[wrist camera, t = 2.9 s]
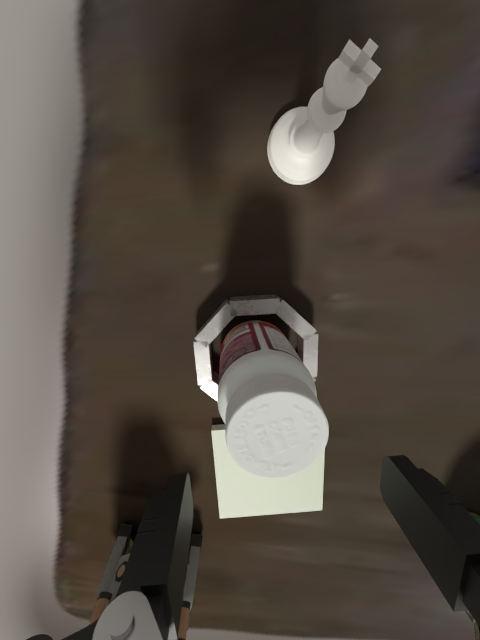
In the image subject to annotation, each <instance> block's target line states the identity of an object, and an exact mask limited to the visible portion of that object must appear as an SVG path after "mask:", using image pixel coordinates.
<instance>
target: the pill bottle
mask: <svg viewBox="0 0 480 640" xmlns="http://www.w3.org/2000/svg"><path fill="white" fill-rule="evenodd" d="M217 397H218V408H219V412H220V415H221V417H222V420H223V421H224V423H225V425H226V431H225V437H226V444H227V448H228V451H229V453H230V455H231V457H232V458H233V460H234V461H235V462H236V463H237V464H238V465H239V466H240V467H241V468H242V469H244V470H245V471H247V472H249V473H251V474H253V475H256V476H259V477H263V478H284V477H289V476H292V475H295V474H298V473H300V472H302V471H304V470H305V469H307V468H308V467H310V466H311V465H312V464H313V463H314V462H315V461H316V460H317V459H318V458H319V457H320V456H321V454H322V453H323V451H324V449H325V447H326V444H327V441H328V435H329V425H328V421H327V418H326V415H325V413H324V411H323V409H322V407H321V406H320V404H319V401H318V399H317V393H316V387H315V383H314V381H313V378H312V376H311V374H310V372H309V371H308V369H307V368H306V366H305V365H304V363H303V362H302V360H301V359H300V357H299V356H298V354H297V353H296V352H295V350H294V349H293V347H292V346H291V344H290V343H289V341H288V340H287V338H286V337H285V335H284V334H283V333H282V332H281V330H280V329H278V328H277V327H276V326H274V325H273V324H271V323H268V322H265V321H260V320H252V321H246V322H243V323H241V324H239V325H237V326H235V327H234V328H233V329H232V330H231V331H230V332H229V333H228V334H227V336H226V337H225V339H224V341H223V343H222V347H221V353H220V368H219V382H218V392H217Z"/></svg>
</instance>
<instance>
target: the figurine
mask: <svg viewBox="0 0 480 640" xmlns="http://www.w3.org/2000/svg"><path fill="white" fill-rule="evenodd" d="M131 530H132V525H126V524H121V525H120V528H119V531H118V534H117V538H116V543H115V545H114V548H113V550H112V553H111V556H110V558H109V561H108V564H107V567H106V570H105V573H104V576H103V579H102V582H101V585H100V588H99V592H98V596H97V599H98V602H97V604H96V606H95V607H94V609H93V612H92V615H91V618H90V620H91V621H90V624H92V623H93V622H94V621H96V620H97V619H98V618H99V617H100V616H101V615H102V613H103V611H104V610H105V609H106V607H107V606H108V605H109V604H110V603H111V602H112V601H113V600H114V598H115V596H116V594H117V592H118V589H119V587H120V584H121V581H122V577H123V574H124V571H125V568H126V565H127V562H128V559H129V556H130V553H129V554H127V552H128V546H129V541H130V536H131ZM202 537H203V535H199V534H192V535H191V539H190V546H189V554H188V562H187V570H186V577H185V585H184V593H183V601H182V609H181V616H180V624H179V632H178V640H186V632H187V630H188V626H189V618H190V617H189V610H191V607H192V602H193V597H194V591H195V584H196V577H197V569H198V560H199V552H200V549H201V544H202ZM90 624H89V625H90Z"/></svg>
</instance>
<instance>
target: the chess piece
mask: <svg viewBox="0 0 480 640" xmlns="http://www.w3.org/2000/svg"><path fill="white" fill-rule="evenodd" d="M377 48H378V45H377V44H376V43H375V42H374V41H372V40H371V39H369V40H368V42H367V43H366V45H365V46H364V48H363V49H362V51H361V50H360V49H359V48H358V47H357V46H356V45H355V44H354V43H353V42H352V41H351V40H350V39H349V41H348V43H347V44H346V46H345V47H344V49H343V51H342V52H341V54H340V56H339V58H337V59H336V60H335V61H334V62H333V63H332V64H331V65H330V66H329V68H328V70H327V72H326V75H325V78H324V83H323V87H322V88H320V89H318V90H317V91H316V92H315V93H314V94H313V95H312V97H311V99H310V101H309V103H308V107H297V108H294V109H291V110H289V111H288V112H286V113H285V114H284V115H282V116H281V117H280V119H279V120H278V121H277V122H276V124H275V125H274V127H273V128H272V130H271V133H270V135H269V139H268V145H267V153H268V159H269V162H270V165H271V167H272V169H273V171H274V172H275V173H276V175H277V176H278V177H279V178H281V179H282V180H283V181H285V182H287V183H290V184H294V185H303V184H307V183H310V182H312V181H314V180H315V179H317V178H318V177H319V176H320V175H321V174H322V173H323V172H324V171H325V169H326V168H327V166H328V165H329V163H330V161H331V159H332V156H333V152H334V146H335V138H334V132H333V131H334V130H336V129H337V128H338V127H339V126H340V125H341V124H342V122H343V120H344V118H345V115H346V111H347V110H348V109H350V108H352V107H354V106H355V105H357V104H358V103H359V102H360V101H361V99H362V98H363V96H364V95H365V92H366V90H367V86H369V85H370V84H371V83H372V82H373V81H374V79H375V78H376V76H377V75H378V73H379V72H380V70H381V68H379V67H378V66H377V65H376V64H375V63H374V62H373V61H372V60H371V57H372V56H373V54H374V52H375V51H376V49H377Z"/></svg>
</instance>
